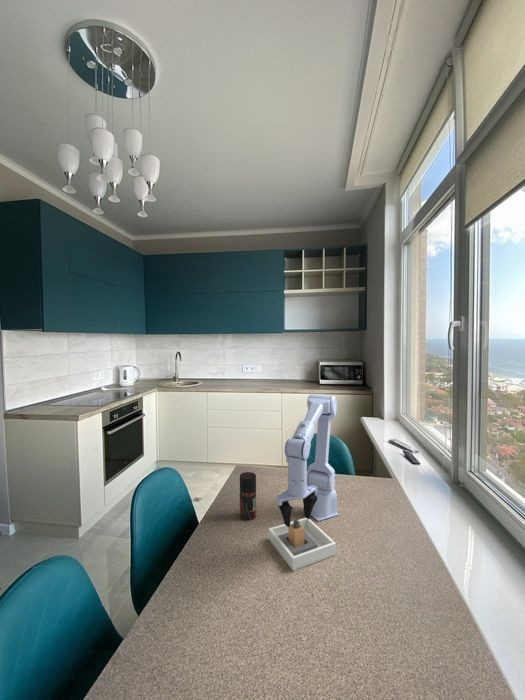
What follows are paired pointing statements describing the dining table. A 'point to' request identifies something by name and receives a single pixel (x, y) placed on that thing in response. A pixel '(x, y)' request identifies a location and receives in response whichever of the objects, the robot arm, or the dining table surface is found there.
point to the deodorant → (247, 496)
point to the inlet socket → (307, 546)
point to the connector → (296, 534)
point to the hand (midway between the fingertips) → (297, 521)
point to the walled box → (307, 558)
